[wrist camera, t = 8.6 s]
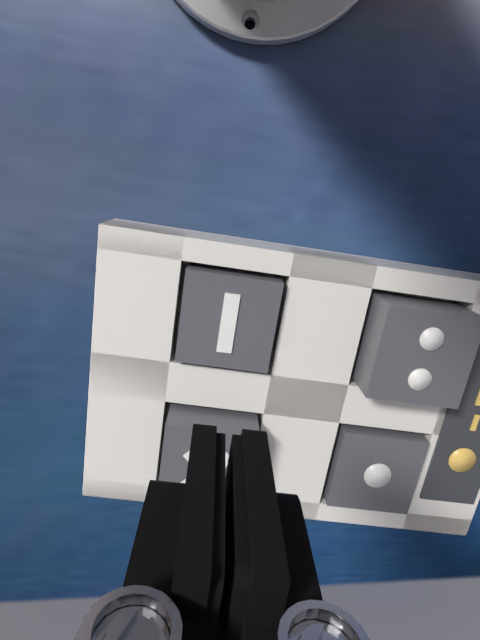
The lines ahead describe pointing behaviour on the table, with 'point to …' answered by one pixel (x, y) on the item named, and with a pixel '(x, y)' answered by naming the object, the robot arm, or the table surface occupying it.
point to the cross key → (181, 433)
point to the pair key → (416, 350)
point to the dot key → (374, 468)
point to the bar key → (228, 317)
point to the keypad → (283, 373)
